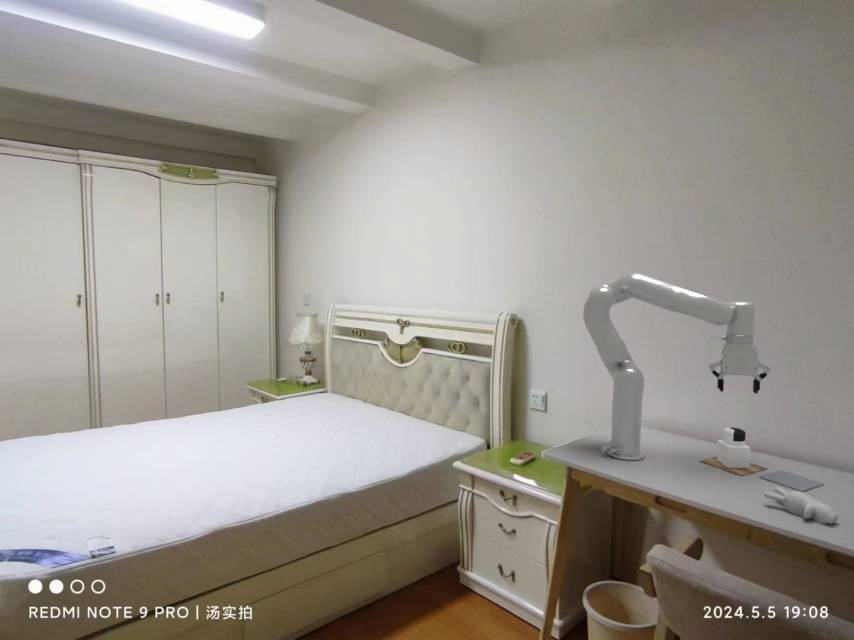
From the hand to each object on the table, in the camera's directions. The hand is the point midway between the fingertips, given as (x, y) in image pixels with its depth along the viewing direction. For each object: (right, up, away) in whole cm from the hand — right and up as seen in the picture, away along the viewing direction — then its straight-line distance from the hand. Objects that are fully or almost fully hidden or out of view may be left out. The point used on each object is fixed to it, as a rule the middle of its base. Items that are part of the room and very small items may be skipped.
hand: (738, 391), depth 165 cm
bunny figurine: (-4, -28, -33) cm, 43 cm away
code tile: (-1, -24, +1) cm, 25 cm away
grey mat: (+9, -26, -11) cm, 29 cm away
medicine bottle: (-1, -24, +1) cm, 25 cm away
